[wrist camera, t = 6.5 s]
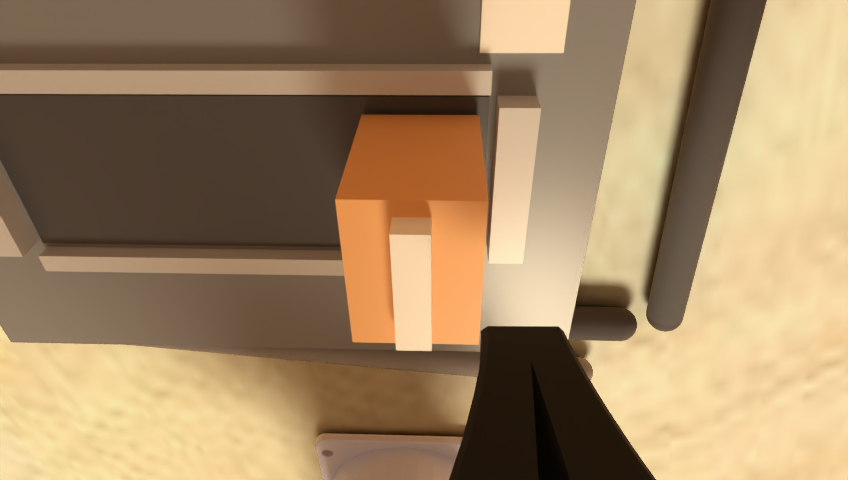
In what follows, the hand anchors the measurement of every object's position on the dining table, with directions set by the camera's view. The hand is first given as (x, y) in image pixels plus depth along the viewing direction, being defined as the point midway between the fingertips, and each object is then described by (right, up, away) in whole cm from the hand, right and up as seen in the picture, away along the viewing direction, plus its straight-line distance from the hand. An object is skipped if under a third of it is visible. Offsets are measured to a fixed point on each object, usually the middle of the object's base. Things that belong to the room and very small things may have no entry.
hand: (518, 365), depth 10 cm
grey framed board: (-7, +5, +7) cm, 11 cm away
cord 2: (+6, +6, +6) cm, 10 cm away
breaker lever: (-2, +4, +5) cm, 7 cm away
